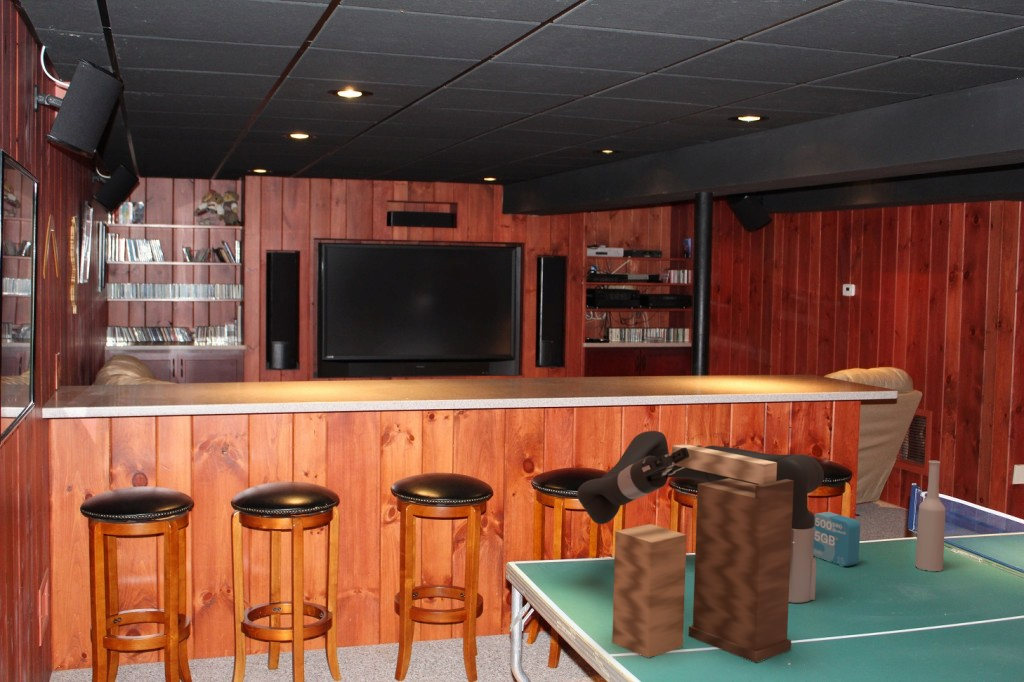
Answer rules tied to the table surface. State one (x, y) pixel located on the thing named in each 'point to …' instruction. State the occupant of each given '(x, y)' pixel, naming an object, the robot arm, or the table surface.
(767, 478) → the brown wooden block
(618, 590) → the light wooden pillar block
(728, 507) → the tall walnut stand
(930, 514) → the bottle
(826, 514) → the data package
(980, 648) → the table surface
